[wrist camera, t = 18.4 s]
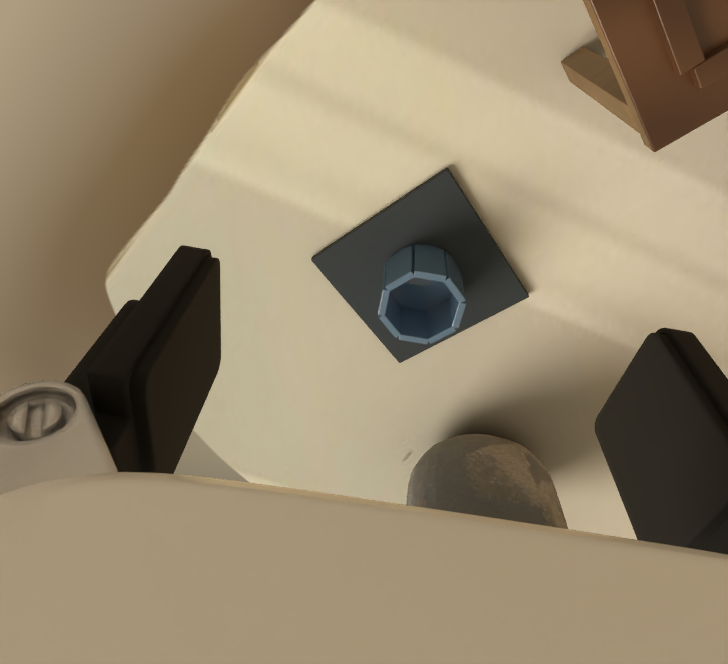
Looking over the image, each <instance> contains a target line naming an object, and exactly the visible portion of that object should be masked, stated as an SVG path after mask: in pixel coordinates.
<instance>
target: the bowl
mask: <svg viewBox="0 0 728 664" xmlns="http://www.w3.org/2000/svg"><path fill="white" fill-rule="evenodd" d="M407 505H410V506H417V507H424V508H430V509H437V510H444V511H450V512H457V513H464V514H470V515H477V516H484V517H490V518H497V519H504V520H510V521H517V522H523V523H530V524H537V525H543V526H550V527H556V528H563V529H568V527H567V524H566V520H565V517H564V514H563V511H562V508H561V505H560V501H559V498H558V496H557V492H556V489H555V487H554V484H553V481H552V479H551V477H550V475H549V473H548V471H547V470H546V468H545V466H544V465H543V464H542V462H541V461H540V460H539V459H538V458H537V457H536V456H535V455H534V454H533V453H531V452H530V451H529V450H528V449H527V448H525V447H524V446H522V445H520V444H518V443H515V442H513V441H511V440H508V439H504V438H501V437H497V436H492V435H488V434H467V435H459V436H455V437H452V438H450V439H447V440H445V441H442V442H440V443H437V444H436V445H434V446H433V447H432V448H430V449H429V450H428V451H427V452H426V453H425V454H424V455H423V456H422V457H421V459H420V460H419V462H418V463H417V465H416V466H415V467H414V469H413V471H412V473H411V477H410V481H409V484H408V493H407Z"/></svg>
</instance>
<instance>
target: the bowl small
mask: <svg viewBox="0 0 728 664" xmlns="http://www.w3.org/2000/svg"><path fill="white" fill-rule="evenodd" d="M465 306H466V299H465V293H464V286H463V280H462V274H461V271H460V269H459V268H458V267H457V265H456V263H455V261H454V260H453V258H452V257H451V256H450V255H449V254H448V252H447V251H446V252H445V251H444V249H440V248H438V247H435V246H431V245H425V244H419V245H417V244H415V245H410V246H408V247H406V248H403V249H401V250H400V251H398V252H397V253H395V254H394V255H393V256H392V257H391V258H389V259H388V260H387V262H386V263H385V267H384V271H383V277H382V282H381V288H380V298H379V309H378V315H379V319H380V320H381V321H382V322H383V323H384V325H385V326H386V327H387V328H388V329H389V331H390V332H391V333H392V334H393V335H394V337H395V338H397V337H398V336H399V340H404V341H410V342H416V343H422V344H428V341H429V342H430V344H432V343H434V342H436V341H438V340H440V339H442V338H443V337H445V336H447V335H449V334H451V333H453V332H455V331H456V328H459V325H460V322H461V319H462V316H463V313H464V309H465Z"/></svg>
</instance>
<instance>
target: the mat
mask: <svg viewBox="0 0 728 664" xmlns="http://www.w3.org/2000/svg"><path fill="white" fill-rule="evenodd" d="M415 244H417V245H419V244H425V245H431V246H435V247H438V248H440V249H444V251H445V252H446V251H447V252H448V254H449V255H450V256H451V257H452V258H453V260H454V261H455V263H456V265H457V267H458V268H459V269H460V271H461V274H462V280H463V286H464V293H465V299H466V306H465V309H464V313H463V316H462V319H461V322H460V325H459V328H456V331H455V332H453V333H451V334H449V335H447V336H445V337H443V338H442V339H440V340H438V341H436V342H434V343H432V344H430V342H429V341H428V344H422V343H416V342H410V341H404V340H399V336H398V337H397V338H395V337H394V335H393V334H392V333H391V332H390V331H389V329H388V328H387V327H386V326H385V325H384V323H383V322H382V321H381V320H380V319H379V315H378V309H379V298H380V288H381V282H382V277H383V271H384V267H385V263H386V262H387V260H388V259H389V258H391V257H392V256H393V255H394V254H395V253H397V252H398V251H400V250H401V249H403V248H406V247H408V246H410V245H415ZM311 260H312V262H313V263H314V264H315V265H316V266H317V267H318V269H319V270H320V271H321V272H322V273H323V274H324V276H325V277H326V278H327V279H328V280H329V281H330V283H331V284H332V285H333V286H334V287H335V288H336V290H337V291H338V292H339V293H340V294H341V295H342V296H343V298H344V299H345V300H346V301H347V302H348V303H349V305H350V306H351V307H352V308H353V309H354V310H355V312H356V313H357V314H358V315H359V316H360V317H361V319H362V320H363V321H364V322H365V323H366V324H367V326H368V327H369V328H370V329H371V330H372V331H373V333H374V334H375V335H376V336H377V337H378V338H379V340H380V341H381V342H382V343H383V344H384V345H385V347H386V348H387V349H388V350H389V351H390V352H391V354H392V355H393V356H394V357H395V358H396V359H397V360H398V362H399V363H401V362H403V361H405V360H407V359H409V358H411V357H413V356H415V355H417V354H418V353H420V352H422V351H424V350H426V349H428V348H430V347H432V346H434V345H436V344H438V343H440V342H442V341H444V340H446V339H448V338H450V337H452V336H454V335H456V334H458V333H459V332H461V331H463V330H465V329H467V328H469V327H471V326H473V325H475V324H477V323H479V322H481V321H483V320H485V319H487V318H489V317H491V316H493V315H495V314H497V313H499V312H500V311H502V310H504V309H506V308H508V307H510V306H512V305H514V304H516V303H518V302H520V301H522V300H524V299H526V298H528V297H529V295H528V293H527V291H526V290H525V288H524V287H523V285H522V284H521V282H520V280H519V279H518V277H517V276H516V274H515V273H514V271H513V269H512V268H511V266H510V265H509V263H508V262H507V260H506V259H505V257H504V255H503V254H502V252H501V251H500V249H499V248H498V246H497V244H496V243H495V241H494V240H493V238H492V237H491V235H490V234H489V232H488V230H487V229H486V227H485V226H484V224H483V223H482V221H481V219H480V218H479V216H478V215H477V213H476V212H475V210H474V208H473V207H472V205H471V204H470V202H469V201H468V199H467V198H466V196H465V194H464V193H463V191H462V190H461V188H460V187H459V185H458V183H457V182H456V180H455V179H454V177H453V176H452V174H451V173H450V171H449V169H448V168H445V169H444V170H442V171H441V172H439V173H438V174H436V175H435V176H433V177H432V178H430V179H429V180H427V181H426V182H424V183H423V184H421V185H420V186H418V187H417V188H415V189H414V190H412V191H411V192H409V193H408V194H406V195H405V196H403V197H402V198H400V199H399V200H397V201H396V202H394V203H393V204H391V205H390V206H388V207H387V208H385V209H384V210H382V211H381V212H379V213H378V214H376V215H375V216H373V217H372V218H370V219H369V220H367V221H366V222H364V223H363V224H361V225H360V226H358V227H357V228H355V229H354V230H352V231H351V232H349V233H348V234H346V235H345V236H343V237H342V238H340V239H338V240H337V241H335V242H334V243H332V244H331V245H329V246H328V247H326V248H325V249H323V250H322V251H320V252H319V253H317V254H316V255H314V256H313V257H312V259H311Z"/></svg>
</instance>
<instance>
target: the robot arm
mask: <svg viewBox="0 0 728 664" xmlns="http://www.w3.org/2000/svg"><path fill="white" fill-rule="evenodd" d="M220 360H221V322H220V261H219V259H218V258H213V257H212V256H211V252H210V250H207V249H201V248H195V247H189V246H180V247H179V248H178V250H177V251H176V252H175V254H174V255H173V256H172V258H171V259H170V260H169V262H168V263H167V264H166V266H165V267H164V268H163V270H162V271H161V272H160V274H159V275H158V276H157V278H156V279H155V281H154V282H153V283H152V285H151V286H150V287H149V289H148V290H147V291H146V293H145V294H144V295H143V297H142V298H141V299H140V301H138V300H130V301H128V302H127V303H126V304H125V305H124V306H123V307H122V309H121V310H120V311H119V312H118V314H117V315H116V316H115V318H114V319H113V320H112V321H111V323H110V324H109V325H108V327H107V328H106V329H105V330H104V332H103V333H102V334H101V336H100V337H99V338H98V339H97V341H96V342H95V344H94V345H93V346H92V347H91V349H90V350H89V351H88V352H87V353H86V355H85V356H84V357H83V359H82V360H81V361H80V362H79V364H78V365H77V366H76V368H75V369H74V370H73V371H72V373H71V374H70V375H69V377H68V378H67V379H66V380H65V382H60V381H36V382H31V383H25V384H22V385H19V386H17V387H14V388H11V389H9V390H7V391H5V392H4V393H2V394H0V664H728V379H727V378H726V376H725V375H724V374H723V372H722V371H721V370H720V368H719V367H718V366H717V364H716V363H715V362H714V360H713V359H712V358H711V356H710V355H709V354H708V352H707V351H706V350H705V348H704V347H703V346H702V344H701V343H700V342H699V340H698V339H697V338H696V336H695V335H694V334H693V333H691V332H686V331H681V330H675V329H669V328H661V329H659V330H658V331H657V332H656V333H651V334H649V335H648V336H647V338H646V339H645V341H644V342H643V344H642V346H641V347H640V349H639V350H638V352H637V354H636V355H635V357H634V358H633V360H632V362H631V363H630V365H629V366H628V368H627V370H626V371H625V373H624V374H623V376H622V378H621V379H620V381H619V382H618V384H617V386H616V387H615V389H614V390H613V392H612V394H611V395H610V397H609V398H608V400H607V402H606V403H605V405H604V406H603V408H602V410H601V411H600V413H599V414H598V416H597V418H596V421H595V432H596V435H597V438H598V440H599V443H600V445H601V448H602V451H603V453H604V456H605V458H606V461H607V463H608V466H609V468H610V471H611V473H612V476H613V478H614V481H615V483H616V486H617V488H618V491H619V494H620V496H621V499H622V501H623V504H624V506H625V509H626V511H627V514H628V516H629V519H630V521H631V524H632V526H633V529H634V531H635V534H636V537H637V539H638V540H634V539H627V538H621V537H615V536H608V535H602V534H595V533H589V532H583V531H576V530H570V529H563V528H556V527H550V526H543V525H537V524H530V523H523V522H517V521H510V520H504V519H497V518H490V517H484V516H477V515H470V514H464V513H457V512H450V511H444V510H437V509H430V508H424V507H417V506H410V505H403V504H396V503H389V502H382V501H375V500H369V499H362V498H355V497H348V496H341V495H334V494H327V493H320V492H313V491H306V490H300V489H293V488H285V487H278V486H270V485H262V484H254V483H246V482H239V481H231V480H224V479H216V478H208V477H199V476H187V475H177V474H173V473H174V471H175V469H176V466H177V464H178V462H179V460H180V457H181V455H182V453H183V450H184V448H185V446H186V444H187V441H188V439H189V436H190V434H191V432H192V430H193V428H194V425H195V423H196V421H197V418H198V416H199V414H200V412H201V409H202V407H203V405H204V402H205V400H206V398H207V396H208V393H209V391H210V389H211V386H212V384H213V382H214V380H215V377H216V375H217V373H218V370H219V366H220Z"/></svg>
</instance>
